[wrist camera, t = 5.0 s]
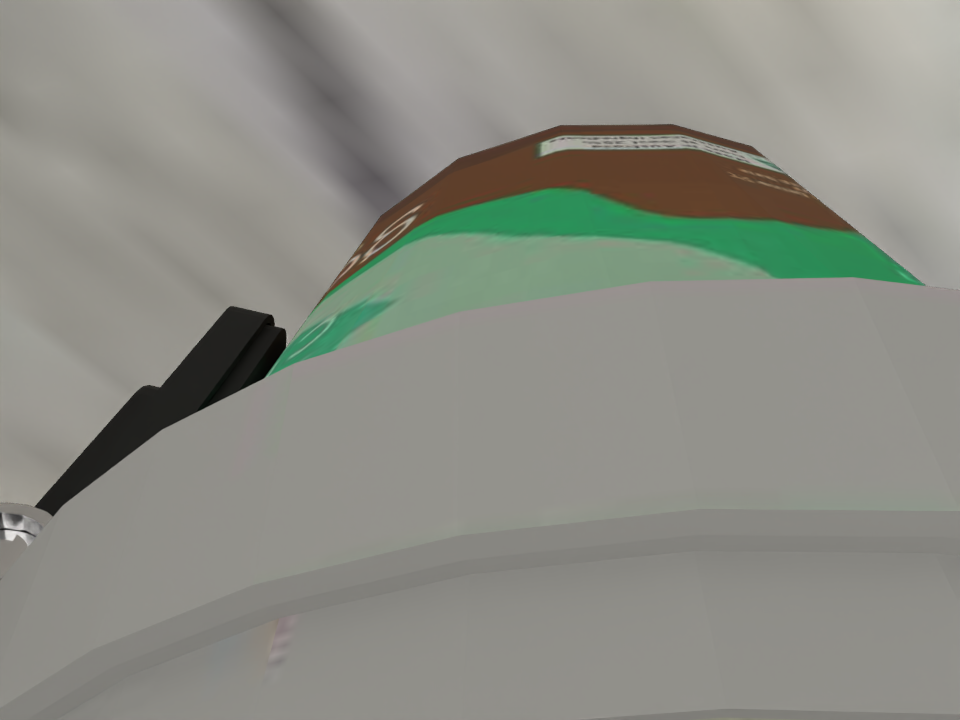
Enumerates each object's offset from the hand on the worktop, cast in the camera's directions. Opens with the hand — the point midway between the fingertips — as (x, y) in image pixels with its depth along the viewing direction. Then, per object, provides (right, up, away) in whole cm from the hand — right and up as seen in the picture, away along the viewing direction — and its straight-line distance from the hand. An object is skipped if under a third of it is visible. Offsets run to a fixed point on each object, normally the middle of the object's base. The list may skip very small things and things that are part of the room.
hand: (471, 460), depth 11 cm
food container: (-1, +2, +2) cm, 3 cm away
